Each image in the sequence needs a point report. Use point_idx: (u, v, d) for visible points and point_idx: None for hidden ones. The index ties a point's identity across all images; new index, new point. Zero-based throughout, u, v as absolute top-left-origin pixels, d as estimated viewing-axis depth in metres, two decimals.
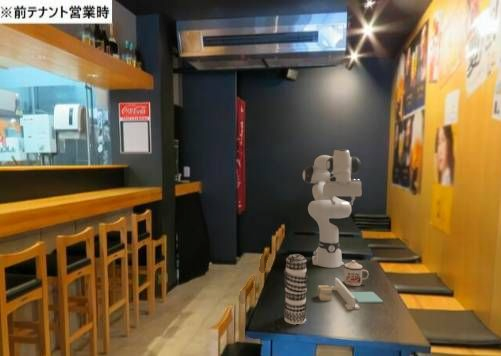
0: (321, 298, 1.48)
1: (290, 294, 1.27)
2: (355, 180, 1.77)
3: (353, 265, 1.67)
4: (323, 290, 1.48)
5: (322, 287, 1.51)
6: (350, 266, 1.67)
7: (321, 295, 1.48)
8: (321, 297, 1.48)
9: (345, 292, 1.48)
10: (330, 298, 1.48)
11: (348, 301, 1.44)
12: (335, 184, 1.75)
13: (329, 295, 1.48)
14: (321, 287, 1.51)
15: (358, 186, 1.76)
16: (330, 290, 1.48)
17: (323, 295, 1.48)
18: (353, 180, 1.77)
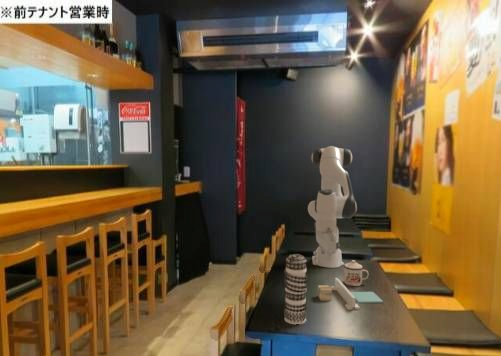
0: (321, 298, 1.48)
1: (290, 294, 1.27)
2: (329, 231, 1.42)
3: (353, 265, 1.67)
4: (323, 290, 1.48)
5: (322, 287, 1.51)
6: (350, 266, 1.67)
7: (321, 295, 1.48)
8: (321, 297, 1.48)
9: (345, 292, 1.48)
10: (330, 298, 1.48)
11: (348, 301, 1.44)
12: None
13: (329, 295, 1.48)
14: (321, 287, 1.51)
15: (326, 239, 1.41)
16: (330, 290, 1.48)
17: (323, 295, 1.48)
18: (328, 230, 1.43)
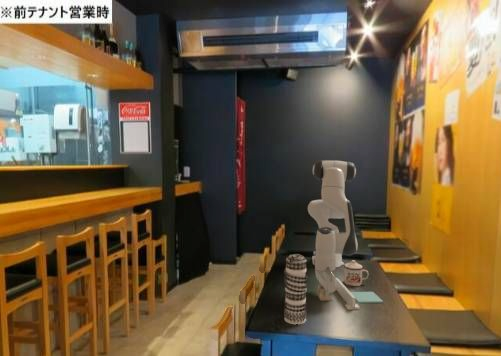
0: (321, 298, 1.48)
1: (290, 294, 1.27)
2: (328, 271, 1.43)
3: (353, 265, 1.67)
4: (323, 290, 1.48)
5: (322, 287, 1.51)
6: (350, 266, 1.67)
7: (321, 295, 1.48)
8: (321, 297, 1.48)
9: (345, 292, 1.48)
10: (330, 298, 1.48)
11: (348, 301, 1.44)
12: None
13: (329, 295, 1.48)
14: (321, 287, 1.51)
15: (326, 279, 1.42)
16: None
17: (323, 295, 1.48)
18: (327, 270, 1.44)
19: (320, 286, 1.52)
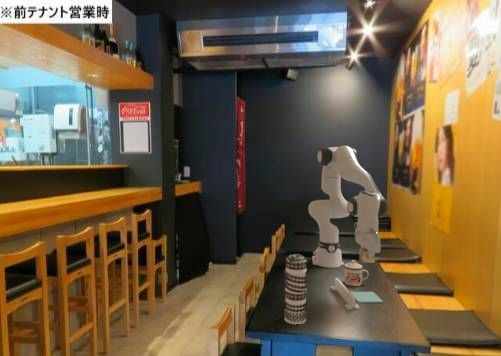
0: (364, 260, 1.48)
1: (290, 294, 1.27)
2: (373, 232, 1.43)
3: (353, 265, 1.67)
4: (366, 252, 1.48)
5: (364, 250, 1.51)
6: (350, 266, 1.67)
7: (364, 257, 1.48)
8: (364, 259, 1.48)
9: (345, 292, 1.48)
10: (373, 260, 1.49)
11: (348, 301, 1.44)
12: (358, 231, 1.55)
13: None
14: (363, 250, 1.51)
15: (371, 240, 1.42)
16: None
17: (366, 257, 1.48)
18: (372, 231, 1.44)
19: (362, 249, 1.52)
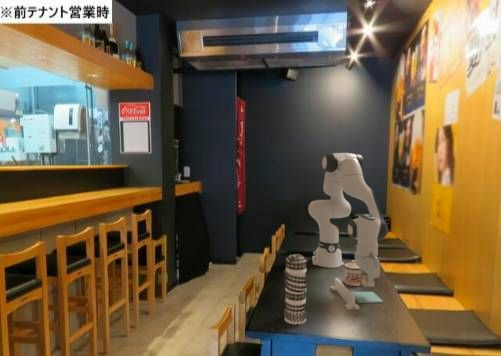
0: (364, 284, 1.49)
1: (290, 294, 1.27)
2: (372, 256, 1.44)
3: (353, 265, 1.67)
4: (365, 276, 1.49)
5: (364, 273, 1.51)
6: (350, 266, 1.67)
7: (364, 281, 1.49)
8: (364, 283, 1.49)
9: (345, 292, 1.48)
10: (373, 284, 1.49)
11: (348, 301, 1.44)
12: (358, 254, 1.55)
13: (372, 281, 1.49)
14: (363, 273, 1.51)
15: (370, 264, 1.43)
16: None
17: (366, 281, 1.49)
18: (371, 256, 1.45)
19: (362, 272, 1.52)
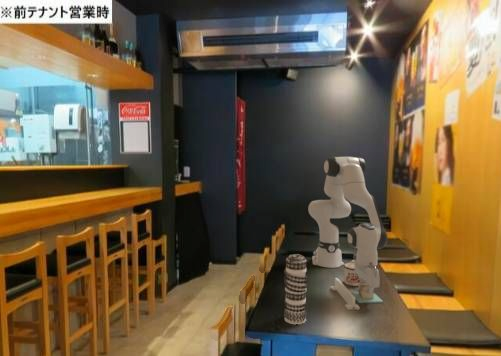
0: (363, 296, 1.49)
1: (290, 294, 1.27)
2: (372, 266, 1.44)
3: (353, 265, 1.67)
4: (365, 288, 1.49)
5: (363, 285, 1.52)
6: (350, 266, 1.67)
7: (363, 293, 1.49)
8: (363, 295, 1.49)
9: (345, 292, 1.48)
10: (372, 296, 1.49)
11: (348, 301, 1.44)
12: None
13: None
14: (362, 285, 1.52)
15: (370, 274, 1.43)
16: None
17: (365, 293, 1.49)
18: (371, 265, 1.45)
19: (361, 284, 1.53)
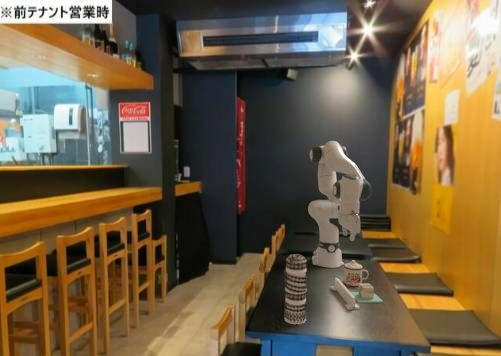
0: (363, 296, 1.49)
1: (290, 294, 1.27)
2: (354, 213, 1.51)
3: (353, 265, 1.67)
4: (365, 288, 1.49)
5: (363, 285, 1.52)
6: (350, 266, 1.67)
7: (363, 293, 1.49)
8: (363, 295, 1.49)
9: (345, 292, 1.48)
10: (372, 296, 1.49)
11: (348, 301, 1.44)
12: (341, 213, 1.63)
13: (371, 293, 1.49)
14: (362, 285, 1.52)
15: (351, 221, 1.50)
16: (372, 288, 1.49)
17: (365, 293, 1.49)
18: (353, 213, 1.52)
19: (361, 284, 1.53)
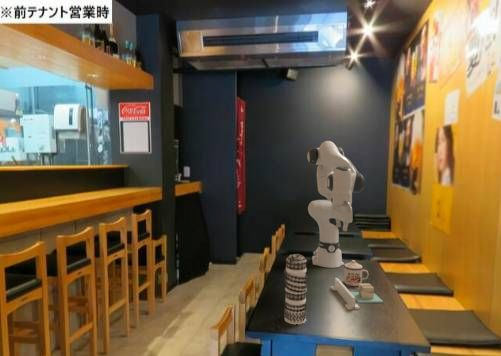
0: (363, 296, 1.49)
1: (290, 294, 1.27)
2: (346, 203, 1.54)
3: (353, 265, 1.67)
4: (365, 288, 1.49)
5: (363, 285, 1.52)
6: (350, 266, 1.67)
7: (363, 293, 1.49)
8: (363, 295, 1.49)
9: (345, 292, 1.48)
10: (372, 296, 1.49)
11: (348, 301, 1.44)
12: (334, 205, 1.66)
13: (371, 293, 1.49)
14: (362, 285, 1.52)
15: (343, 211, 1.53)
16: (372, 288, 1.49)
17: (365, 293, 1.49)
18: (345, 203, 1.56)
19: (361, 284, 1.53)
